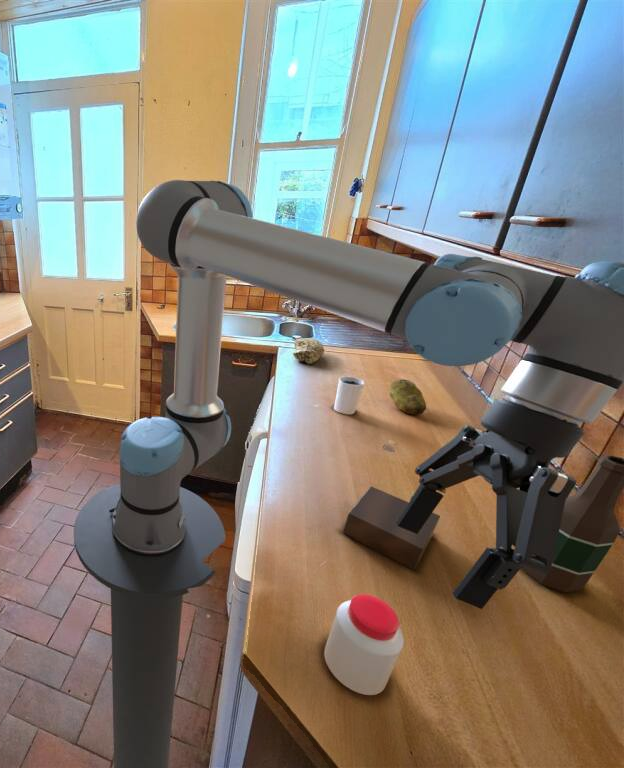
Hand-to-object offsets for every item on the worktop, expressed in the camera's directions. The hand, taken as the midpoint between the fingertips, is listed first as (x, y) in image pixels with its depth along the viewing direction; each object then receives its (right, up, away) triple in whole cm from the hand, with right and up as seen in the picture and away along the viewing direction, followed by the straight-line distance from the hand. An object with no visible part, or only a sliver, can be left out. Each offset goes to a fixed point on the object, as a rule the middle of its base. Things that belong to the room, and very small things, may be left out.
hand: (432, 560), depth 50 cm
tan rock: (+41, +33, +119) cm, 131 cm away
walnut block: (+14, -8, +29) cm, 33 cm away
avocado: (+52, +14, +77) cm, 94 cm away
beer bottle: (+36, -11, +20) cm, 43 cm away
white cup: (+33, +14, +76) cm, 84 cm away
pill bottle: (-6, -18, +7) cm, 20 cm away
